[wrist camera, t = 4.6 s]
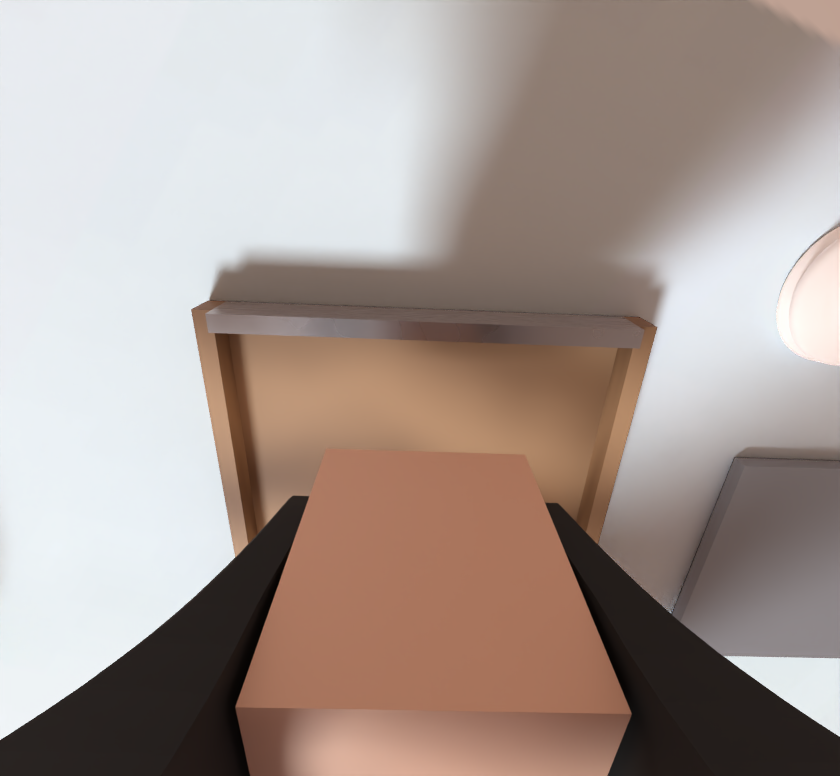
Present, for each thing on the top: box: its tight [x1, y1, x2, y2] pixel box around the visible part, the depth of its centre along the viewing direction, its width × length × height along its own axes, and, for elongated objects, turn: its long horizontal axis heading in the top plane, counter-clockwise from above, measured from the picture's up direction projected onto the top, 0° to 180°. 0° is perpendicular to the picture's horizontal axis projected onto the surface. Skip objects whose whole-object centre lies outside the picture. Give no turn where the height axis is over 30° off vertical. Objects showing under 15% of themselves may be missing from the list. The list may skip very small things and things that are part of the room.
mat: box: [672, 458, 840, 658], centre depth 19 cm, size 11×11×1 cm
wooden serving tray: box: [191, 301, 657, 557], centre depth 17 cm, size 16×15×2 cm
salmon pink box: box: [235, 448, 632, 776], centre depth 9 cm, size 3×5×6 cm, turn 87°
